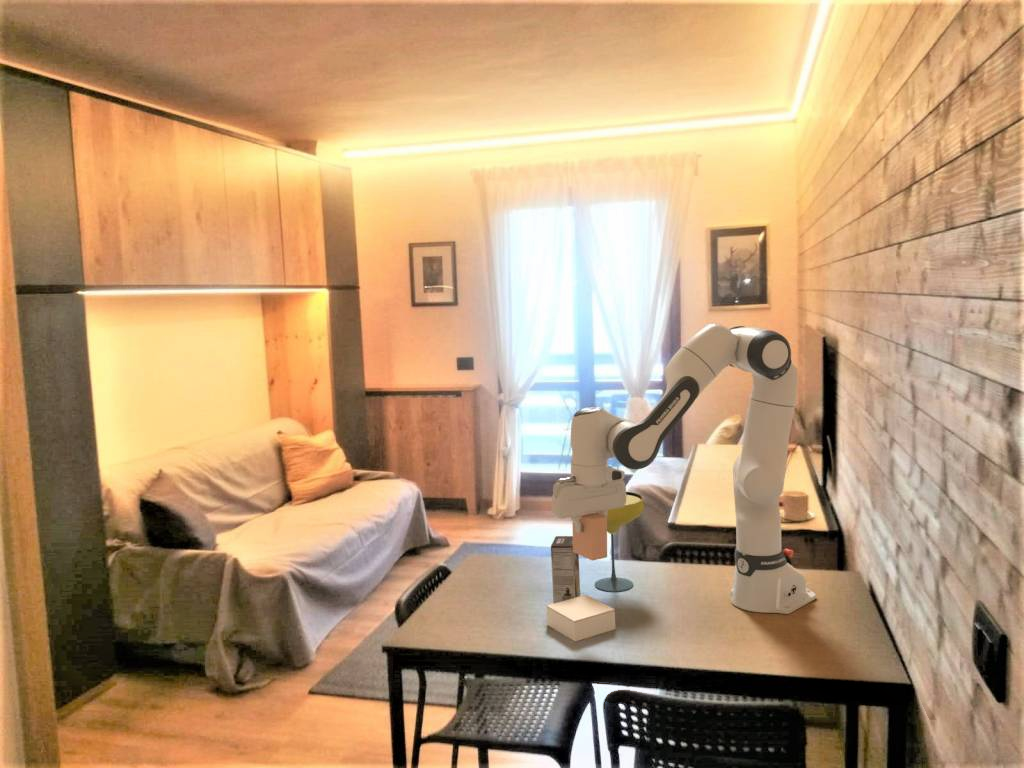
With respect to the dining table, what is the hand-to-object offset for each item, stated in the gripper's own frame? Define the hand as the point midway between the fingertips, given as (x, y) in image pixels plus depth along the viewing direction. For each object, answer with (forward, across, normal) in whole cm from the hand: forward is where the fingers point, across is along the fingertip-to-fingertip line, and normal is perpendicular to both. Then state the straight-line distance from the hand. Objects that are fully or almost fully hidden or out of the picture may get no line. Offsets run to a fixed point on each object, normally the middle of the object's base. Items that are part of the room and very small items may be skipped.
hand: (589, 530), depth 188 cm
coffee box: (+25, +6, +19) cm, 32 cm away
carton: (+6, 0, 0) cm, 6 cm away
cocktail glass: (+24, +22, +19) cm, 38 cm away
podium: (+24, -2, +1) cm, 25 cm away
